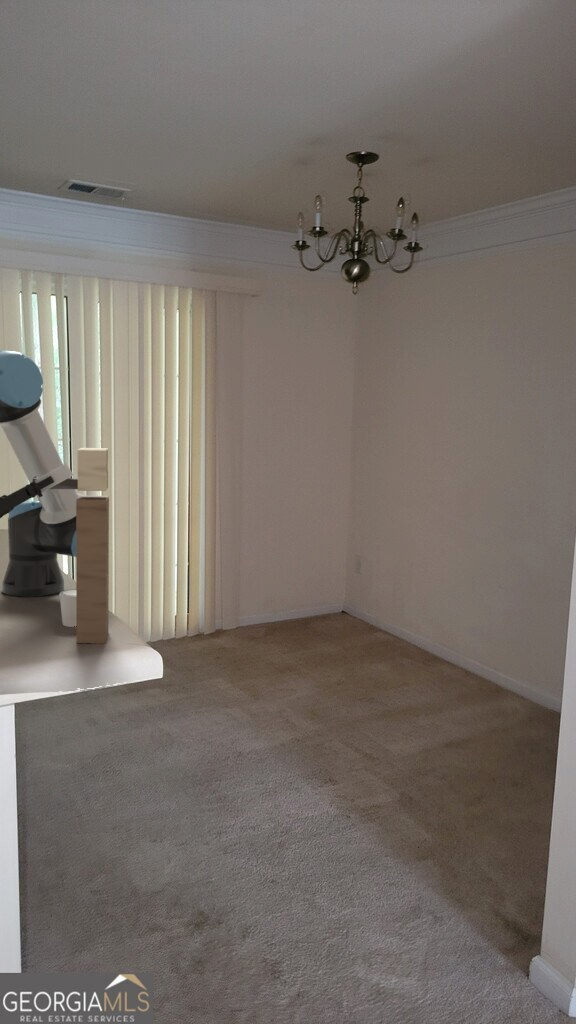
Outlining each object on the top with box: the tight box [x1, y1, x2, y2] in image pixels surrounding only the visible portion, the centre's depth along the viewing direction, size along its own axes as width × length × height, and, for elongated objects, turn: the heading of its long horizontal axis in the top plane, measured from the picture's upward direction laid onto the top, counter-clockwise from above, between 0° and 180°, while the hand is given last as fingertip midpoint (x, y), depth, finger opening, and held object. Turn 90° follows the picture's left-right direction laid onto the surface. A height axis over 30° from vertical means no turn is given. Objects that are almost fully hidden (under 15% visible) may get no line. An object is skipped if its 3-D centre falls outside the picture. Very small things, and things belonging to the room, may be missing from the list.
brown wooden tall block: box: [75, 494, 110, 644], centre depth 156 cm, size 8×6×29 cm
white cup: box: [59, 588, 77, 628], centre depth 168 cm, size 7×7×7 cm
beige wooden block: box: [33, 447, 109, 492], centre depth 153 cm, size 7×14×8 cm, turn 100°
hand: (68, 469), depth 153 cm, fingers closed on beige wooden block, 2 cm apart
